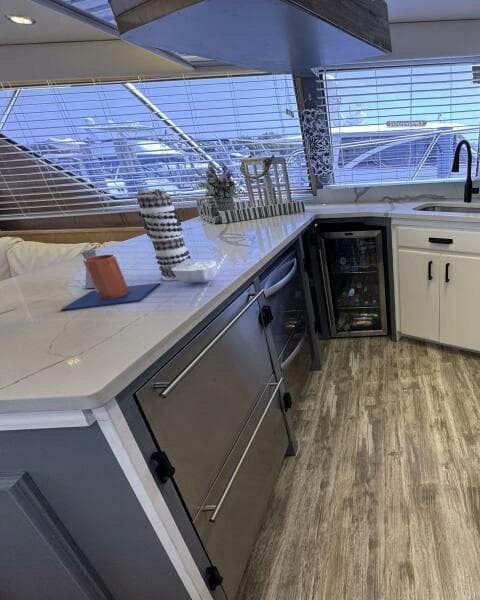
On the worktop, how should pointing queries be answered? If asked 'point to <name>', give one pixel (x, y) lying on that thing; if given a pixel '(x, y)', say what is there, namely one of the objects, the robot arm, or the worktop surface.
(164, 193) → the decorative candle
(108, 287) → the cup
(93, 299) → the cloth
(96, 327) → the worktop surface
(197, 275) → the white rounded container
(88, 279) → the flask
